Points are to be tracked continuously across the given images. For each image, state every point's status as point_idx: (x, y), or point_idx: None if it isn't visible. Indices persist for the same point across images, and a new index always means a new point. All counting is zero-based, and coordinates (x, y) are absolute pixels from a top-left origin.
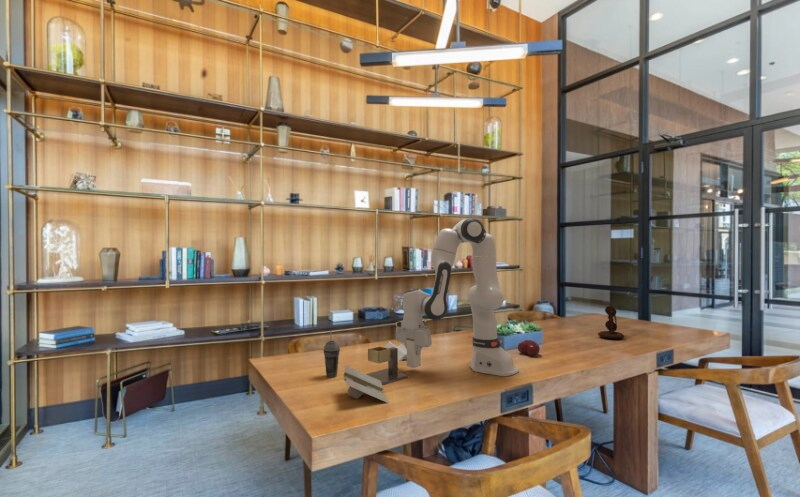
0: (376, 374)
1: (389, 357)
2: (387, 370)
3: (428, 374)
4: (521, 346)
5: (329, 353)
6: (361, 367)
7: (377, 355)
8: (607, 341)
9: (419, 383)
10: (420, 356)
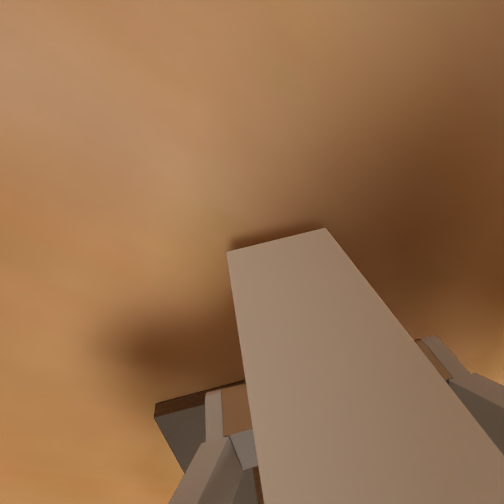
0: (243, 481)
1: None
2: (201, 424)
3: (417, 200)
4: None
5: None
6: (3, 494)
7: None
8: None
9: (490, 338)
10: (368, 284)
